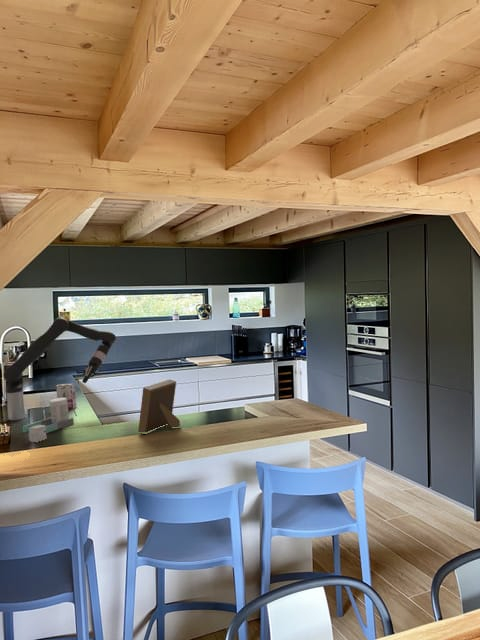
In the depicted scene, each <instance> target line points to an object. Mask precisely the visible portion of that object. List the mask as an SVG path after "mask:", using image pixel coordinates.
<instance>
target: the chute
mask: <svg viewBox="0 0 480 640" xmlns="http://www.w3.org/2000/svg"><path fill="white" fill-rule="evenodd" d="M74 424H75V422H74V417H69V419H67V420H63V421H60V422H57V423H54V424H52V419H51V417H48V418H45V419H41V420H38V421H35V422H32V423H29V424H26V425H23V426H22V432H23V433H29V428H30V427H33V426H36V425H45V426H46V434H48V433H51V432H54V431H57V430H59V429H60V430H61V429H64V428H65V427H68V426H69V427H70V426H72V425H74Z"/></svg>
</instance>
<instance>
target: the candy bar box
mask: <svg viewBox="0 0 480 640" xmlns="http://www.w3.org/2000/svg"><path fill="white" fill-rule="evenodd" d="M55 389H56V399H57V398H66V399H67V405H68V410H74V409H76V408H77V398H76V397H77V396H76V385H75V383H62V384H61V383H60V384H57V385H55Z"/></svg>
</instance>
